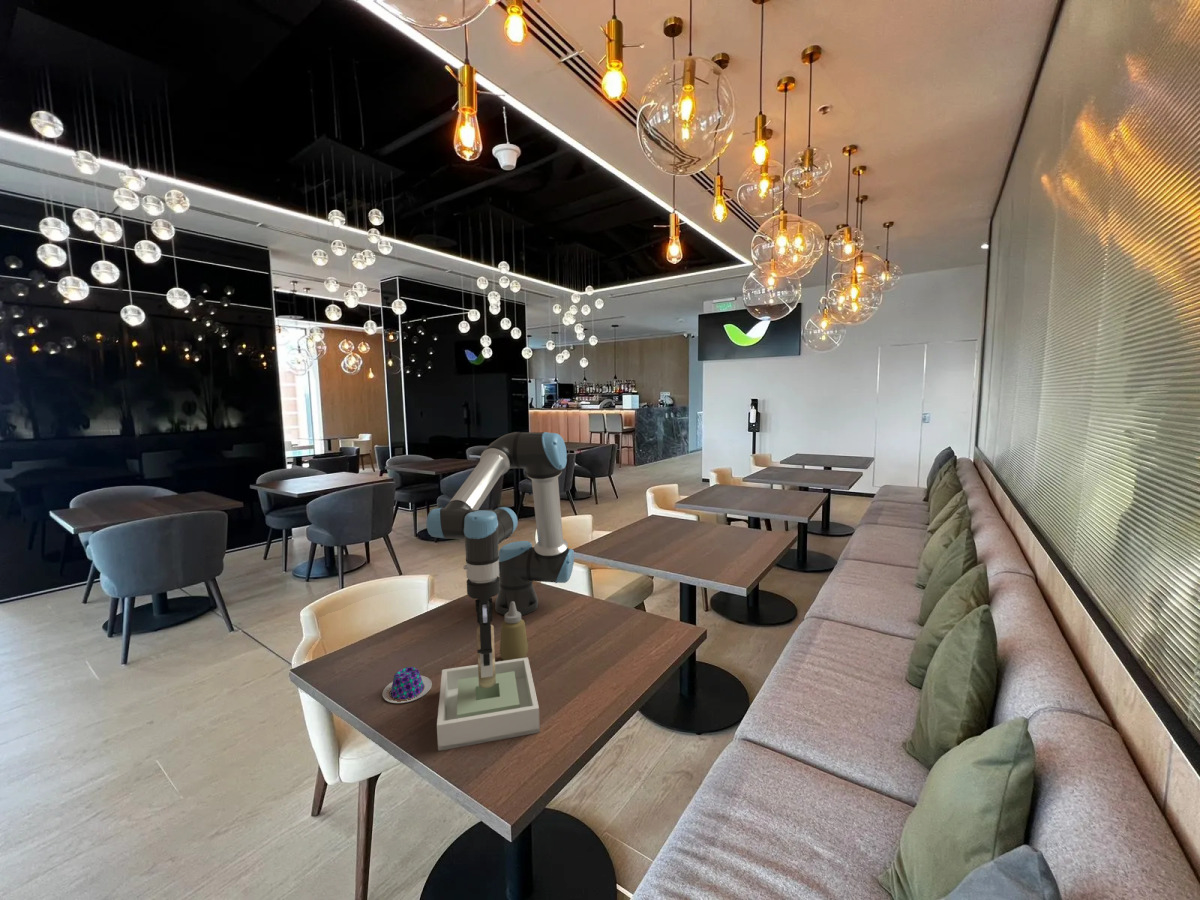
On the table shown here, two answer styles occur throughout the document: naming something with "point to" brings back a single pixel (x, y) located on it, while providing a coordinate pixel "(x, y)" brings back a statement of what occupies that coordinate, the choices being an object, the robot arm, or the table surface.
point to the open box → (489, 724)
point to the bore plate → (487, 696)
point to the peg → (485, 681)
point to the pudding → (407, 685)
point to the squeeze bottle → (513, 635)
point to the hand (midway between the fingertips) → (486, 670)
